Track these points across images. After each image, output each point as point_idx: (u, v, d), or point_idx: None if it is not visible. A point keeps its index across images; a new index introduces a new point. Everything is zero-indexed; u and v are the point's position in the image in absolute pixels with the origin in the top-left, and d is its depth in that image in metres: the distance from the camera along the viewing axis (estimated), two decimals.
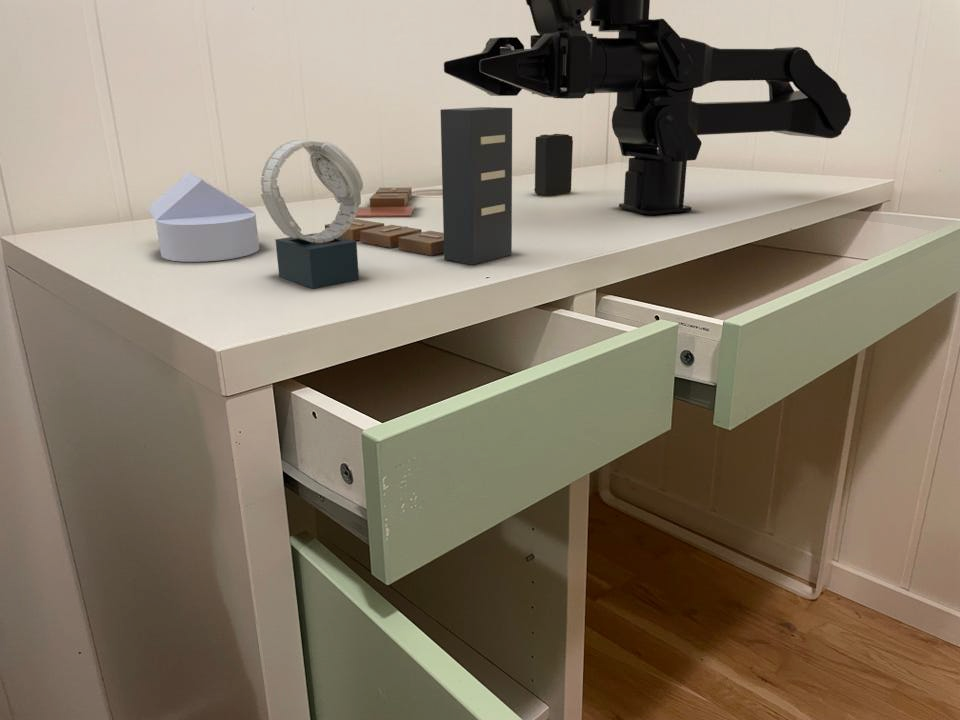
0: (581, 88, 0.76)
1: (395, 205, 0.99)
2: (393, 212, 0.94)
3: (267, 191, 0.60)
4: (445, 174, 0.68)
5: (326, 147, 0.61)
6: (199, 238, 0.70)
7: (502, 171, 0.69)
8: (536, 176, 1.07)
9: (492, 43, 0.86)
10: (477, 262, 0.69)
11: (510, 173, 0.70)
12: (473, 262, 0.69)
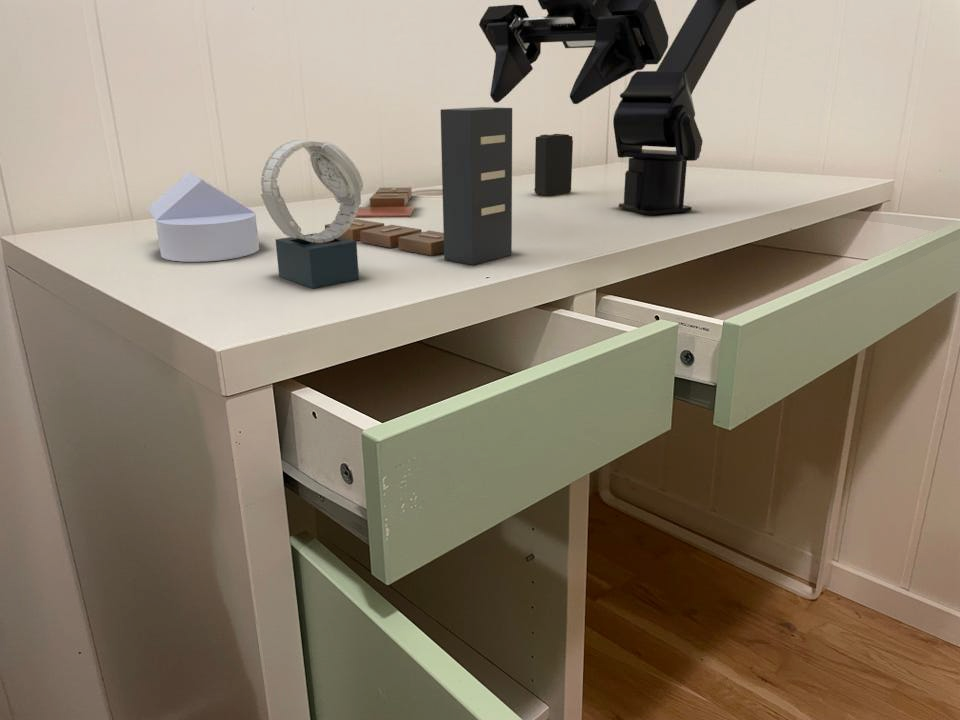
0: (665, 45, 0.71)
1: (395, 205, 0.99)
2: (393, 212, 0.94)
3: (267, 191, 0.60)
4: (445, 174, 0.68)
5: (326, 147, 0.61)
6: (199, 238, 0.70)
7: (502, 171, 0.69)
8: (536, 176, 1.07)
9: (502, 32, 0.76)
10: (477, 262, 0.69)
11: (510, 173, 0.70)
12: (473, 262, 0.69)
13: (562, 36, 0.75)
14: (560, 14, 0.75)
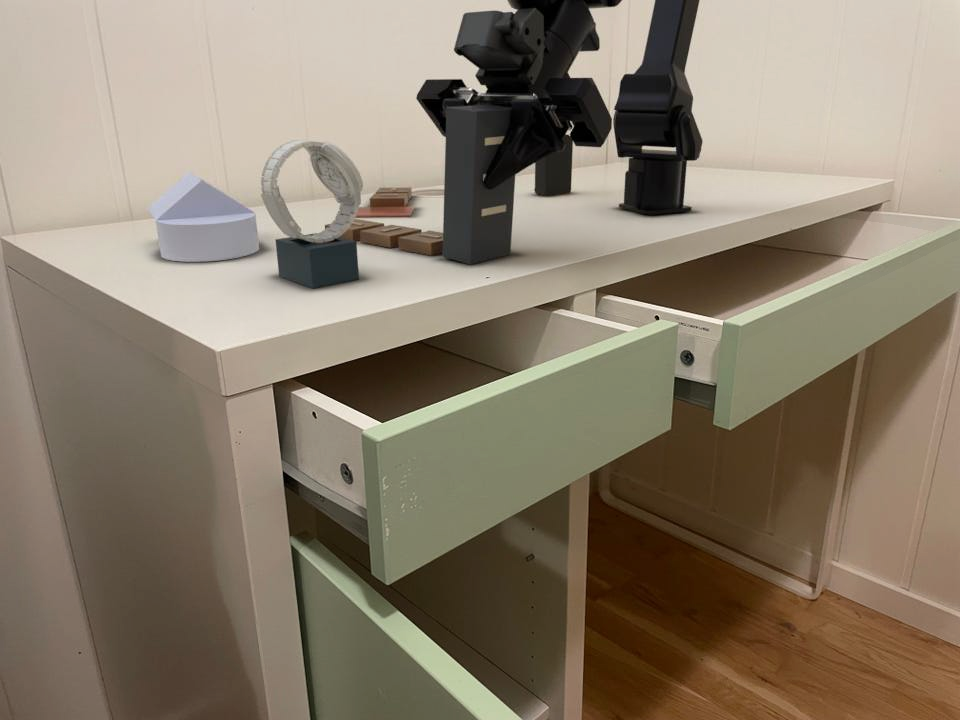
0: (608, 128, 0.66)
1: (395, 205, 0.99)
2: (393, 212, 0.94)
3: (267, 191, 0.60)
4: (448, 172, 0.68)
5: (326, 147, 0.61)
6: (199, 238, 0.70)
7: None
8: (536, 176, 1.07)
9: None
10: (475, 262, 0.69)
11: None
12: (470, 262, 0.69)
13: None
14: (500, 90, 0.71)
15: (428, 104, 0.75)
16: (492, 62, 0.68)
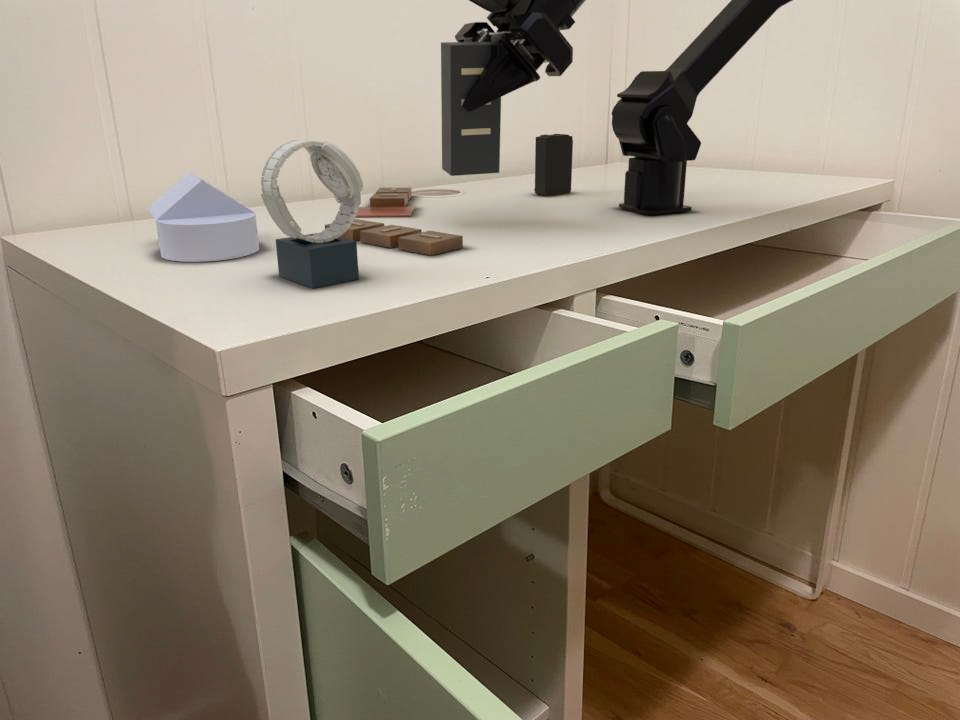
0: (566, 58, 0.75)
1: (395, 205, 0.99)
2: (393, 212, 0.94)
3: (267, 191, 0.60)
4: (442, 97, 0.82)
5: (326, 147, 0.61)
6: (199, 238, 0.70)
7: None
8: (536, 176, 1.07)
9: None
10: (456, 174, 0.83)
11: (499, 102, 0.81)
12: (451, 173, 0.83)
13: None
14: (507, 30, 0.83)
15: None
16: (489, 4, 0.80)
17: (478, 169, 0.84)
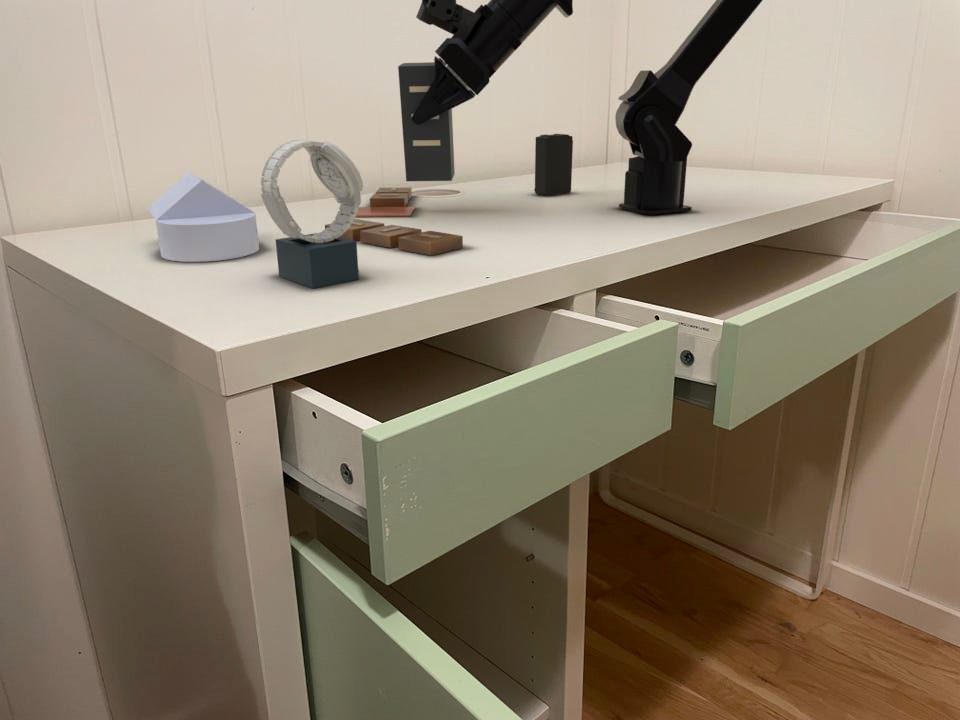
0: (479, 79, 0.81)
1: (395, 205, 0.99)
2: (393, 212, 0.94)
3: (267, 191, 0.60)
4: None
5: (326, 147, 0.61)
6: (199, 238, 0.70)
7: None
8: (536, 176, 1.07)
9: None
10: (410, 180, 0.93)
11: (447, 116, 0.90)
12: (406, 179, 0.93)
13: None
14: None
15: None
16: None
17: (431, 176, 0.93)
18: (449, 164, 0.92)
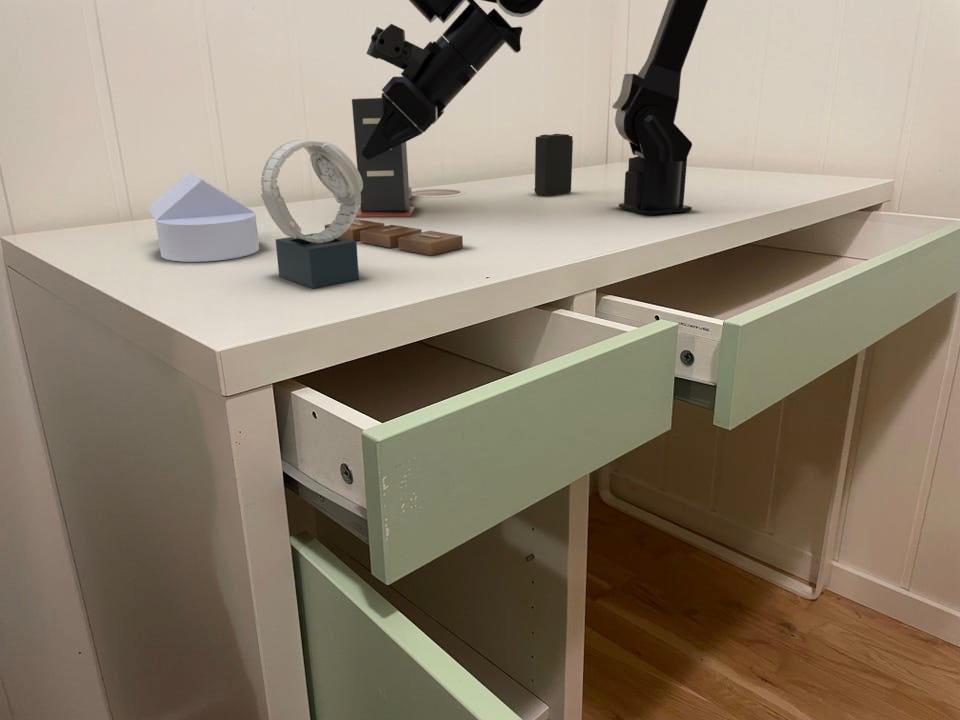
0: (425, 117, 0.83)
1: None
2: (393, 212, 0.94)
3: (267, 191, 0.60)
4: None
5: (326, 147, 0.61)
6: (199, 238, 0.70)
7: None
8: (536, 176, 1.07)
9: None
10: (365, 210, 0.95)
11: (399, 147, 0.92)
12: (361, 209, 0.95)
13: None
14: None
15: None
16: None
17: (385, 207, 0.94)
18: (402, 194, 0.94)
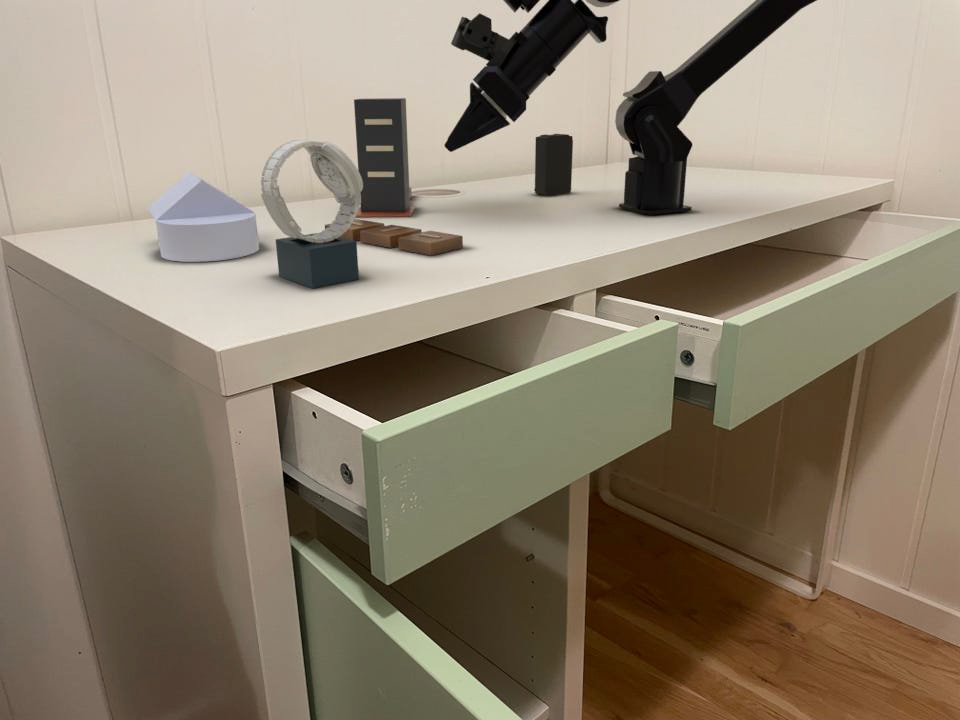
0: (516, 107, 0.82)
1: None
2: (393, 212, 0.94)
3: (267, 191, 0.60)
4: None
5: (326, 147, 0.61)
6: (199, 238, 0.70)
7: (390, 146, 0.92)
8: (536, 176, 1.07)
9: None
10: (365, 211, 0.95)
11: (401, 149, 0.92)
12: (361, 210, 0.95)
13: None
14: None
15: None
16: None
17: (385, 207, 0.94)
18: (403, 195, 0.94)
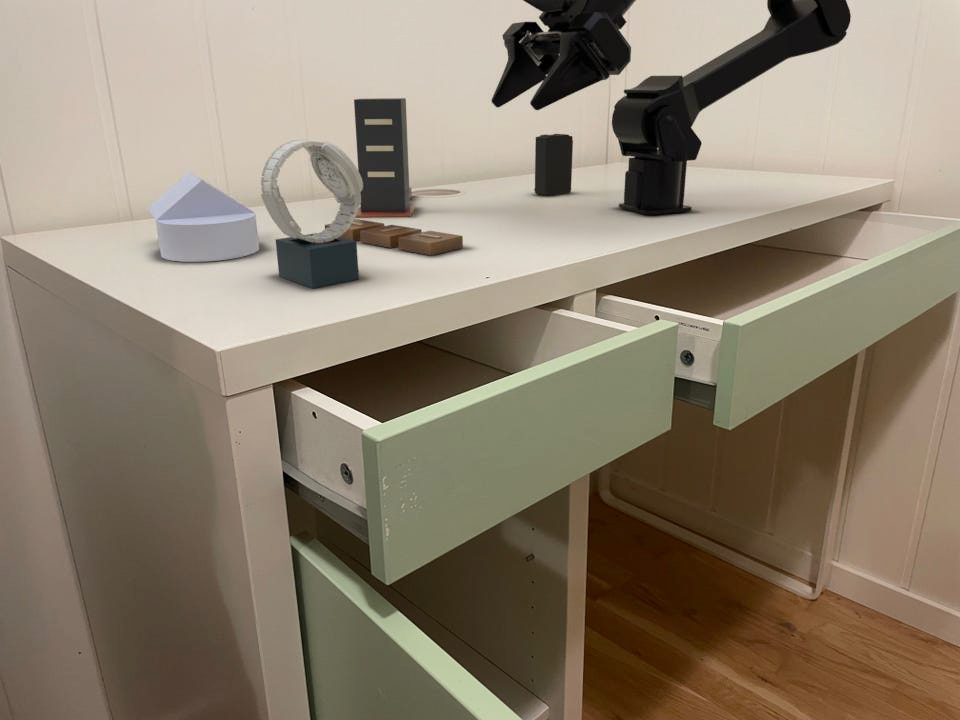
0: (625, 57, 0.77)
1: None
2: (393, 212, 0.94)
3: (267, 191, 0.60)
4: None
5: (326, 147, 0.61)
6: (199, 238, 0.70)
7: (390, 146, 0.92)
8: (536, 176, 1.07)
9: (511, 46, 0.87)
10: (365, 211, 0.95)
11: (401, 149, 0.92)
12: (361, 210, 0.95)
13: (555, 49, 0.84)
14: (559, 29, 0.84)
15: None
16: (544, 4, 0.82)
17: (385, 207, 0.94)
18: (403, 195, 0.94)
